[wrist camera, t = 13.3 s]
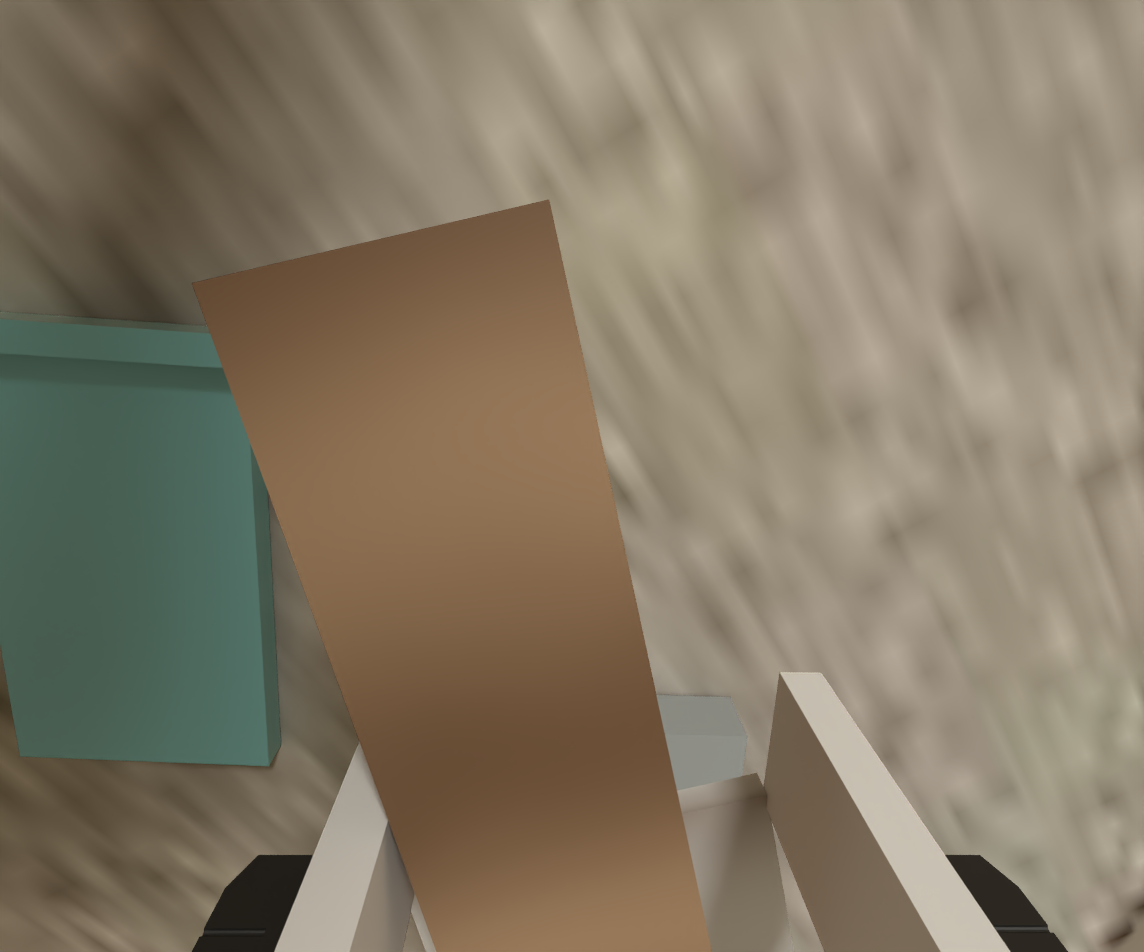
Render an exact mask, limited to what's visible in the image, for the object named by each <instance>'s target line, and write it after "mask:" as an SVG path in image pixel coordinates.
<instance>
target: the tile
mask: <svg viewBox="0 0 1144 952" xmlns="http://www.w3.org/2000/svg"><path fill="white" fill-rule="evenodd" d="M656 696H657V700H658V705H659V710H660V714H661V719H662V723H663V728H664V733H665V737H666V742H667V747H668V751H669V756H670V760H671V765H672V770H673V774H674V779H675V783H676V788H677V791H678V790H683V789H687V788H692V787H696V786H700V785H705V784H709V783H714V782H718V781H723V780H727V779H732V778H736V777H741V776H742V772H743V765H744V758H745V751H746V744H747V737H748V736H747V734H746V732H745V729H744V727H743V725H742V722H741V720H740V718H739V715H738V713H737V711H736V708H735V706H734V704H733V701H732V699H731V697H708V696H672V695H656Z"/></svg>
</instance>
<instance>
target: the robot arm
mask: <svg viewBox="0 0 1144 952" xmlns="http://www.w3.org/2000/svg"><path fill="white" fill-rule="evenodd" d="M764 790H765V792H766V794H767V805H766V808H767V811H768V813H769V816H770V818H771V820H772V823H773V825H774V828H775V830H776V833H777V835H778V838H779V840H780V843H781V845H782V848H783V850H784V853H785V855H786V857H787V860H788V862H789V865H790V867H791V870H792V872H793V875H794V877H795V880H796V882H797V885H798V887H799V890H800V892H801V895H802V897H803V899H804V902H805V904H806V907H807V909H808V912H809V914H810V917H811V919H812V922H813V924H814V927H815V929H816V932H817V934H818V936H819V939H820V941H821V944H822V946H823V949H824V951H825V952H1068V951H1067V950H1066V948H1065V947H1064V946H1063V945H1062V943H1061V942H1060V941H1059V939H1058V938H1057V937H1056V935H1055V934H1054V933H1050V932H1049V930H1048V925H1047V924H1046V922H1045V921H1044V920H1043V918H1042V917H1041V916H1040V914H1039V913H1038V912H1037V911H1036V909H1035V908H1034V907H1033V905H1032V904H1031V903H1030V901H1029V900H1028V899H1027V897H1026V896H1025V895H1024V893H1023V892H1022V891H1021V890H1020V888H1019V887H1018V886H1017V885H1015V884H1014V883H1013V882H1012V881H1011V880H1009V879H1008V878H1007V877H1006V876H1005V875H1003V874H1002V873H1001V872H1000V871H998V870H997V869H996V868H995V867H994V866H992V865H991V864H990V863H989V862H987V861H986V860H985V859H984V858H983V857H981V856H980V855H944V853H943V852H942V850H941V849H940V847H939V846H938V844H937V843H936V841H935V840H934V838H933V837H932V835H931V834H930V833H929V831H928V830H927V828H926V827H925V825H924V824H923V822H922V821H921V819H920V818H919V816H918V815H917V813H916V812H915V810H914V809H913V807H912V806H911V805H910V803H909V802H908V800H907V799H906V797H905V796H904V794H903V793H902V791H901V790H900V788H899V787H898V785H897V784H896V782H895V781H894V779H893V778H892V777H891V775H890V774H889V772H888V771H887V769H886V768H885V766H884V765H883V763H882V762H881V760H880V759H879V757H878V756H877V754H876V753H875V751H874V750H873V749H872V747H871V746H870V744H869V743H868V741H867V740H866V738H865V737H864V735H863V734H862V732H861V731H860V729H859V728H858V726H857V725H856V723H855V722H854V721H853V719H852V718H851V716H850V715H849V713H848V712H847V710H846V709H845V707H844V706H843V704H842V703H841V701H840V700H839V698H838V697H837V696H836V694H835V693H834V691H833V690H832V688H831V687H830V685H829V684H828V682H827V681H826V679H825V678H824V676H823V675H822V673H804V672H780V673H779V680H778V687H777V694H776V702H775V709H774V716H773V723H772V730H771V738H770V745H769V752H768V759H767V766H766V773H765V781H764ZM414 895H415V892H414V889H413V887H412V884H411V881H410V878H409V876H408V873H407V870H406V868H405V865H404V862H403V859H402V857H401V854H400V851H399V848H398V846H397V843H396V840H395V837H394V835H393V832H392V829H391V827H390V824H389V821H388V818H387V816H386V813H385V810H384V807H383V805H382V802H381V799H380V796H379V794H378V791H377V788H376V786H375V783H374V780H373V777H372V775H371V772H370V769H369V766H368V764H367V761H366V758H365V755H364V753H363V750H362V747H361V745H360V742H359V743H358V746H357V748H356V751H355V753H354V756H353V758H352V761H351V763H350V766H349V768H348V771H347V773H346V775H345V778H344V780H343V783H342V785H341V788H340V790H339V793H338V795H337V798H336V800H335V803H334V805H333V808H332V810H331V813H330V815H329V817H328V820H327V822H326V825H325V827H324V830H323V832H322V835H321V837H320V840H319V842H318V845H317V847H316V850H315V852H314V855H258V856H257V857H256V858H255V859H254V860H253V861H252V862H251V863H250V864H249V865H248V866H247V867H246V868H245V869H244V870H243V871H242V872H241V873H240V874H239V875H238V876H237V877H236V878H235V879H234V880H233V881H232V882H231V883H230V884H229V885H228V886H227V887H226V888H225V890H224V891H223V893H222V895H221V897H220V899H219V901H218V903H217V905H216V907H215V909H214V910H213V912H212V914H211V916H210V918H209V920H208V922H207V924H206V926H205V928H204V933H203V936H202V937H199V939H198V941H197V943H196V945H195V947H194V948H193V950H192V952H402V951H403V946H404V941H405V937H406V932H407V927H408V923H409V918H410V913H411V909H412V904H413V900H414Z"/></svg>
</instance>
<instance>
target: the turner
mask: <svg viewBox="0 0 1144 952" xmlns="http://www.w3.org/2000/svg"><path fill="white" fill-rule="evenodd" d="M192 285H193V288H194V291H195V294H196V296H197V299H198V302H199V304H200V307H201V310H202V313H203V315H204V318H205V321H206V324H207V326H208V329H209V332H210V335H211V337H212V340H213V343H214V345H215V348H216V351H217V354H218V356H219V359H220V362H221V365H222V367H223V370H224V373H225V376H226V378H227V381H228V384H229V386H230V389H231V392H232V395H233V397H234V400H235V403H236V406H237V408H238V411H239V414H240V417H241V419H242V422H243V425H244V427H245V430H246V433H247V436H248V438H249V441H250V444H251V447H252V449H253V452H254V455H255V458H256V460H257V463H258V466H259V468H260V471H261V474H262V477H263V479H264V482H265V485H266V488H267V490H268V493H269V496H270V499H271V501H272V504H273V507H274V509H275V512H276V515H277V518H278V520H279V523H280V526H281V529H282V531H283V534H284V537H285V540H286V542H287V545H288V548H289V550H290V553H291V556H292V559H293V561H294V564H295V567H296V570H297V572H298V575H299V578H300V581H301V583H302V586H303V589H304V591H305V594H306V597H307V600H308V602H309V605H310V608H311V611H312V613H313V616H314V619H315V622H316V624H317V627H318V630H319V632H320V635H321V638H322V641H323V643H324V646H325V649H326V652H327V654H328V657H329V660H330V663H331V665H332V668H333V671H334V673H335V676H336V679H337V682H338V684H339V687H340V690H341V693H342V695H343V698H344V701H345V704H346V706H347V709H348V712H349V714H350V717H351V720H352V723H353V725H354V728H355V731H356V734H357V736H358V739H359V742H360V745H361V747H362V750H363V753H364V755H365V758H366V761H367V764H368V766H369V769H370V772H371V775H372V777H373V780H374V783H375V786H376V788H377V791H378V794H379V796H380V799H381V802H382V805H383V807H384V810H385V813H386V816H387V818H388V821H389V824H390V827H391V829H392V832H393V835H394V837H395V840H396V843H397V846H398V848H399V851H400V854H401V857H402V859H403V862H404V865H405V868H406V870H407V873H408V876H409V878H410V881H411V884H412V887H413V889H414V892H415V895H414V900H413V904H412V909H411V913H412V915H413V918H414V921H415V923H416V926H417V929H418V932H419V934H420V937H421V940H422V942H423V945H424V948H425V950H426V952H794V949H793V943H792V938H791V932H790V926H789V920H788V914H787V909H786V903H785V897H784V891H783V885H782V879H781V874H780V868H779V862H778V856H777V850H776V845H775V839H774V833H773V827H772V821H771V818H770V816H769V813H768V811H767V808H766V805H767V794H766V792H765V790H764V787H763V785H762V783H761V781H760V779H759V776H758V774H757V773H754V774H750V775H745V776H741V777H736V778H732V779H727V780H723V781H718V782H714V783H709V784H705V785H700V786H696V787H692V788H687V789H683V790H678V791H677V788H676V783H675V779H674V774H673V770H672V765H671V760H670V756H669V751H668V747H667V742H666V737H665V733H664V728H663V723H662V719H661V714H660V710H659V705H658V700H657V696H656V691H655V687H654V682H653V677H652V673H651V668H650V663H649V659H648V654H647V650H646V645H645V640H644V636H643V631H642V626H641V622H640V617H639V613H638V608H637V603H636V599H635V594H634V590H633V585H632V580H631V576H630V571H629V566H628V562H627V557H626V553H625V548H624V543H623V539H622V534H621V530H620V525H619V520H618V516H617V511H616V506H615V502H614V497H613V493H612V488H611V483H610V479H609V474H608V469H607V465H606V460H605V456H604V451H603V446H602V442H601V437H600V433H599V428H598V423H597V419H596V414H595V409H594V405H593V400H592V396H591V391H590V386H589V382H588V377H587V373H586V368H585V363H584V359H583V354H582V349H581V345H580V340H579V336H578V331H577V326H576V322H575V317H574V312H573V308H572V303H571V299H570V294H569V289H568V285H567V280H566V276H565V271H564V266H563V262H562V257H561V252H560V248H559V243H558V239H557V234H556V229H555V225H554V220H553V216H552V211H551V206H550V202H549V200H545V201H541V202H536V203H532V204H528V205H524V206H519V207H515V208H511V209H506V210H502V211H498V212H494V213H489V214H485V215H481V216H477V217H472V218H468V219H464V220H459V221H455V222H451V223H447V224H442V225H438V226H434V227H429V228H425V229H421V230H417V231H412V232H408V233H404V234H400V235H395V236H391V237H387V238H382V239H378V240H374V241H370V242H365V243H361V244H357V245H352V246H348V247H344V248H340V249H335V250H331V251H327V252H323V253H318V254H314V255H310V256H305V257H301V258H297V259H293V260H288V261H284V262H280V263H275V264H271V265H267V266H263V267H258V268H254V269H250V270H246V271H241V272H237V273H233V274H228V275H224V276H220V277H216V278H211V279H207V280H203V281H198V282H194V283H192Z"/></svg>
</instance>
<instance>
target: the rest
mask: <svg viewBox="0 0 1144 952" xmlns="http://www.w3.org/2000/svg"><path fill="white" fill-rule="evenodd" d="M0 646H1V652H2V658H3V663H4V669H5V675H6V680H7V686H8V692H9V698H10V703H11V709H12V715H13V720H14V726H15V732H16V737H17V743H18V749H19V754H20V757H45V758H71V759H96V760H122V761H148V762H174V763H200V764H225V765H251V766H269V765H270V764H271V762H272V760H273V758H274V757H275V755H276V753H277V751H278V750H279V748H280V746H281V736H280V717H279V697H278V678H277V659H276V640H275V621H274V601H273V582H272V563H271V544H270V525H269V505H268V490H267V488H266V485H265V482H264V479H263V477H262V474H261V471H260V468H259V466H258V463H257V460H256V458H255V455H254V452H253V449H252V447H251V444H250V441H249V438H248V436H247V433H246V430H245V427H244V425H243V422H242V419H241V417H240V414H239V411H238V408H237V406H236V403H235V400H234V397H233V395H232V392H231V389H230V386H229V384H228V381H227V378H226V376H225V373H224V370H223V367H222V365H221V362H220V359H219V356H218V354H217V351H216V348H215V345H214V343H213V340H212V337H211V335H210V332H209V329H208V326H201V325H187V324H172V323H158V322H144V321H130V320H115V319H101V318H87V317H73V316H58V315H44V314H30V313H16V312H1V311H0Z"/></svg>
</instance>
